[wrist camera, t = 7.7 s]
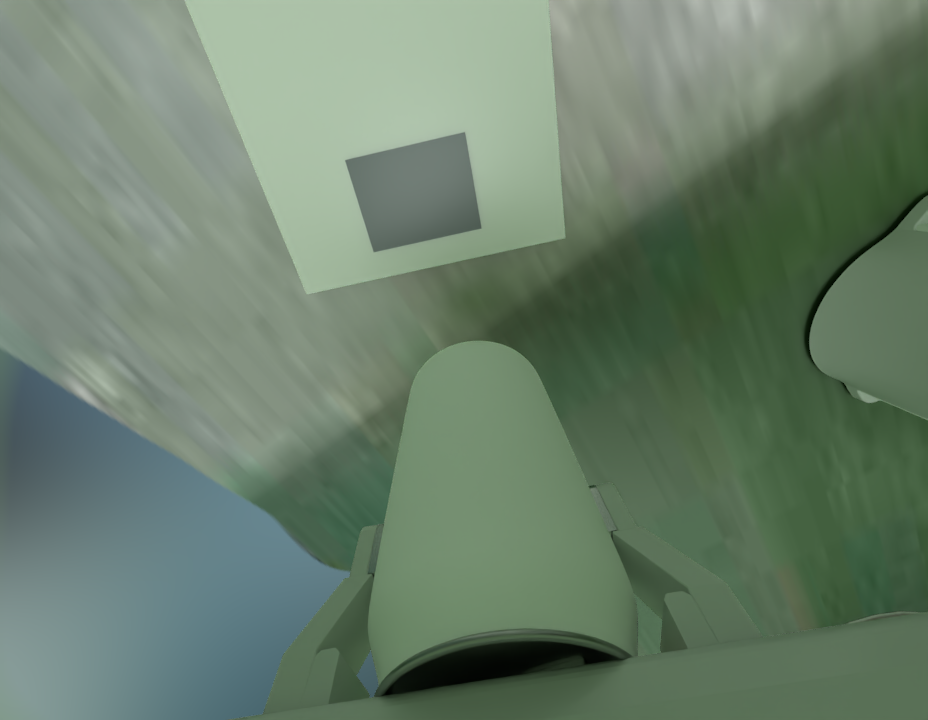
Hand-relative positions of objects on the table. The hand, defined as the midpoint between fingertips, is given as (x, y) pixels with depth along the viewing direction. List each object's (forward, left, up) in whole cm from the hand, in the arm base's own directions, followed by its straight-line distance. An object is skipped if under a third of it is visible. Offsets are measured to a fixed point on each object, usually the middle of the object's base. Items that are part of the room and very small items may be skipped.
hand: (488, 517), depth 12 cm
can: (0, 0, -7) cm, 7 cm away
